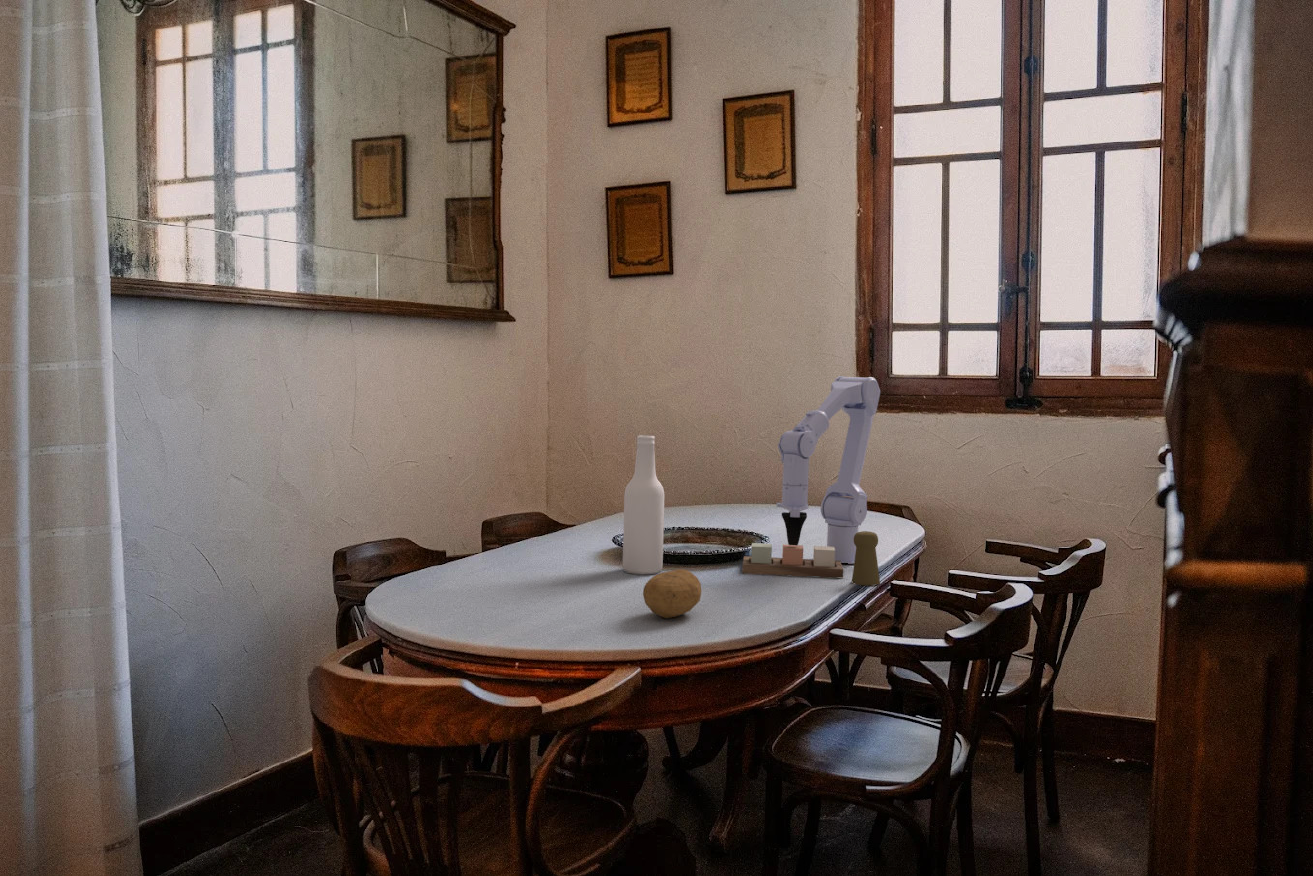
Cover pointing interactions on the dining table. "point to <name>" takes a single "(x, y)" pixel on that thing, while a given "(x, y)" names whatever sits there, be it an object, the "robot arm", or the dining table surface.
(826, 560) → the cream button
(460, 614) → the dining table surface
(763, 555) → the sage button
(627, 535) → the alcohol
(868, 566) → the cork
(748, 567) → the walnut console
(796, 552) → the terracotta button
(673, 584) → the potato
